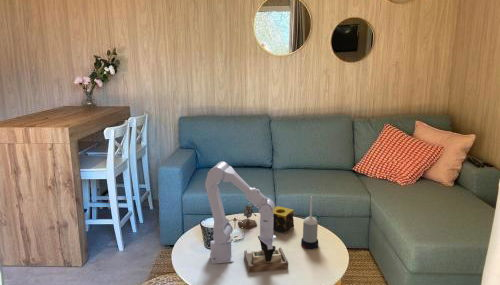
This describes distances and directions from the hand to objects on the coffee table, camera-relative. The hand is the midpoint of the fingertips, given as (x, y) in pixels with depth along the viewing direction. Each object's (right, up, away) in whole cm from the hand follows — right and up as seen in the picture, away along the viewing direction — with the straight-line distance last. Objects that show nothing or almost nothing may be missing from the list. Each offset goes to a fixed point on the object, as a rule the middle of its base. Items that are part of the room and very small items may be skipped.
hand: (266, 256), depth 164 cm
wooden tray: (0, -3, +2) cm, 4 cm away
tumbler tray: (0, -2, +1) cm, 2 cm away
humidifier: (+21, 0, +17) cm, 28 cm away
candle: (+9, +4, +35) cm, 36 cm away
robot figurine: (-9, +5, +39) cm, 40 cm away
